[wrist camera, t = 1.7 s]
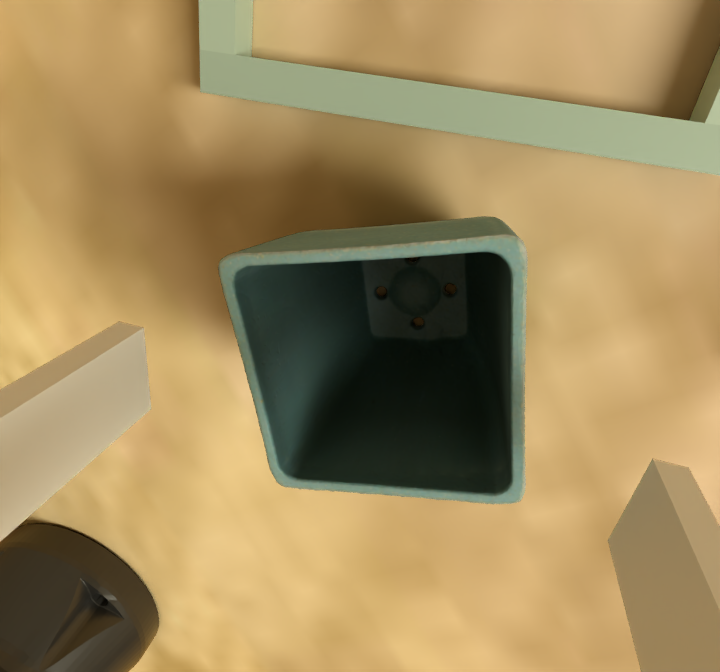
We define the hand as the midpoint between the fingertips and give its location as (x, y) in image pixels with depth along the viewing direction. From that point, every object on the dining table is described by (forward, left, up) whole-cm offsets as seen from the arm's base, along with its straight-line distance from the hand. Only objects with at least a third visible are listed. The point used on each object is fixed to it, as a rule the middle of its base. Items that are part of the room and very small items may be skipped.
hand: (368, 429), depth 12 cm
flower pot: (0, 0, -12) cm, 12 cm away
